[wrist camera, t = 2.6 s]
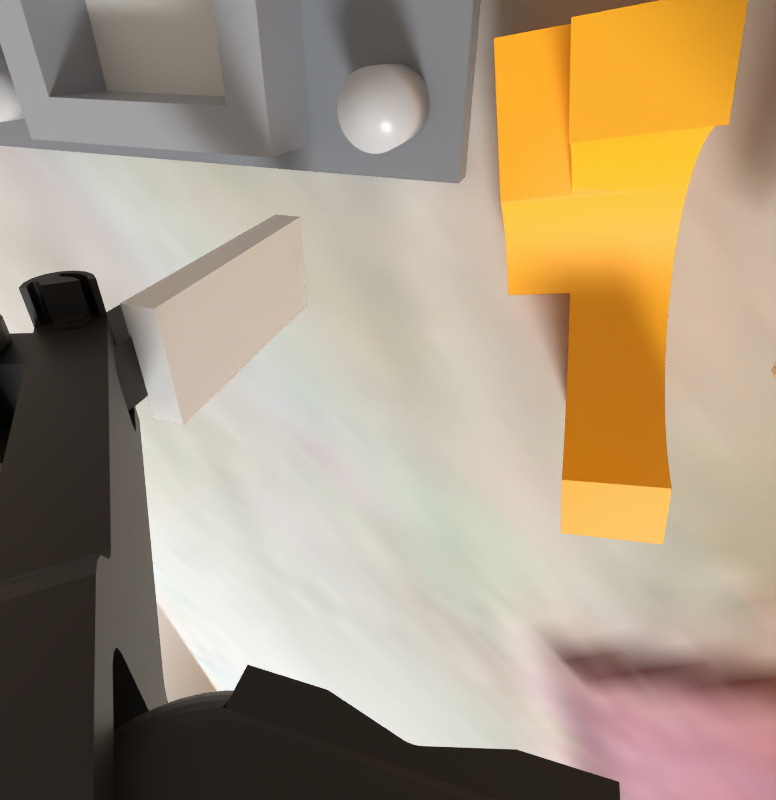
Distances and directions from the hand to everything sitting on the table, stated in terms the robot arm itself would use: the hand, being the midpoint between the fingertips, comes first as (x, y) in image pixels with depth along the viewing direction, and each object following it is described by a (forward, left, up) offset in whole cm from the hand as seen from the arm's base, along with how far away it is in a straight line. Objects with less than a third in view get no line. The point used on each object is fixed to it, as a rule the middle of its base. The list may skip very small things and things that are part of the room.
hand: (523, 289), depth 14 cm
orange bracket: (-2, 0, -4) cm, 4 cm away
